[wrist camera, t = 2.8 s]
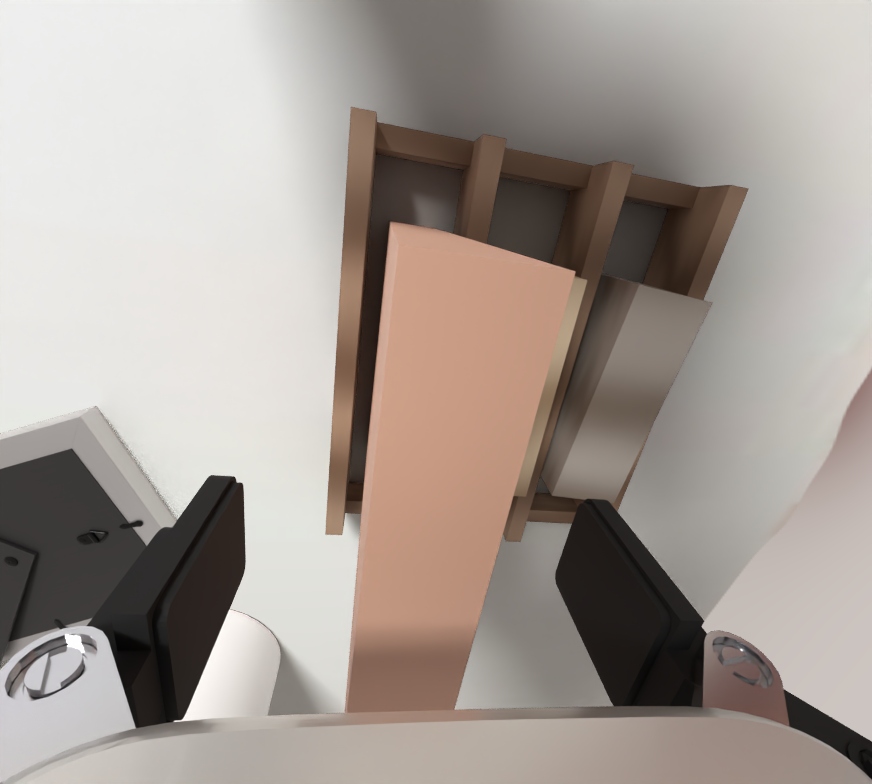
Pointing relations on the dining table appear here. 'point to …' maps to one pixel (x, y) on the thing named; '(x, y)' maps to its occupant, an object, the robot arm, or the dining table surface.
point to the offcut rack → (576, 250)
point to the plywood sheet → (443, 455)
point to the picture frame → (67, 523)
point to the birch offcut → (550, 385)
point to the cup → (237, 672)
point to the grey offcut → (618, 385)
